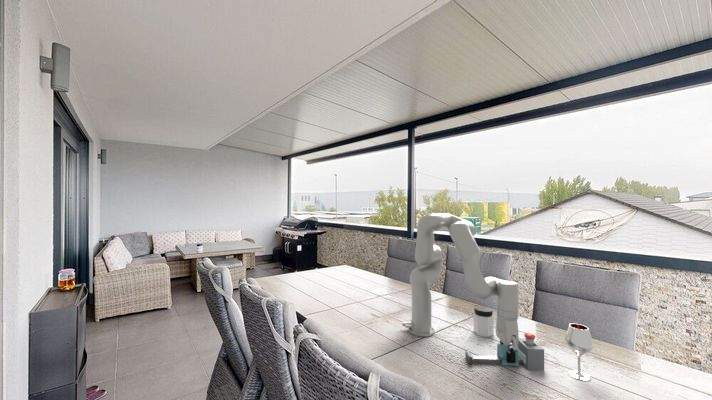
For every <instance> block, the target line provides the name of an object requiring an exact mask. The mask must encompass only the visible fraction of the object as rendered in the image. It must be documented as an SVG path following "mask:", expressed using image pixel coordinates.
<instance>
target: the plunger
mask: <svg viewBox="0 0 712 400" xmlns="http://www.w3.org/2000/svg"><path fill="white" fill-rule="evenodd" d="M523 335H524V338H526V345H527V346H534V341H535V339H536V336H535V334H534V333H531V332H525V333H524V334H523Z"/></svg>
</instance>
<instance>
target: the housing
mask: <svg viewBox="0 0 712 400" xmlns="http://www.w3.org/2000/svg"><path fill="white" fill-rule="evenodd" d="M517 346H518V351H519V357H520V358H521V359H522V360H523V362H524V365H523V367H525V369H526V370H527V371H540V372H542V371H543V372H544V371H545V349H544V347H542V346H541V345H539V343H538V342H536V341H535V340H534V346H527V345H526V337H524V338H523V337H522V338H520V337H519V342H518V345H517Z"/></svg>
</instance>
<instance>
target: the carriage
mask: <svg viewBox="0 0 712 400" xmlns="http://www.w3.org/2000/svg"><path fill="white" fill-rule="evenodd" d="M496 347H497V348H496V351H497V352H496V356H499V357H500V358H501V359H502V366H515V367H516V366H520V365H519V351H518V350H517V351H516V363H507V352H508V351H507V346H506V345H505V344H500V343H497V344H496ZM512 347H513V346H510V349H511V348H512Z"/></svg>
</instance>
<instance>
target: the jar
mask: <svg viewBox="0 0 712 400" xmlns="http://www.w3.org/2000/svg"><path fill="white" fill-rule="evenodd" d="M493 312H494V311H493V309H492V308H490V307H488V306H483V305H476V306H474V310H473V333H475V334H476V335H477V336H479V337H483V338H484V337H485V338H489V337H492V336H494V333H495V331H494V323H495V322H494V315H493Z"/></svg>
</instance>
